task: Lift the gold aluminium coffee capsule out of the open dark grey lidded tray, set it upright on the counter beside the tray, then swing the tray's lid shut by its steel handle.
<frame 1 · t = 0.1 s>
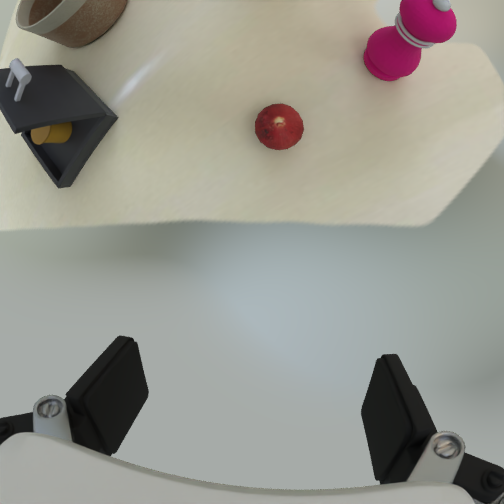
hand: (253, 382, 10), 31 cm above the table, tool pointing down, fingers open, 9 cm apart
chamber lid: (46, 79, 26), point 12 cm above the table, hinge at 75.0°
planter: (94, 13, 33), on the table
coffee pod: (63, 130, 39), point 1 cm above the table, touching dark grey lidded tray
dark grey lidded tray: (69, 126, 39), on the table
pepper mill: (383, 62, 32), on the table
onion: (279, 131, 37), on the table
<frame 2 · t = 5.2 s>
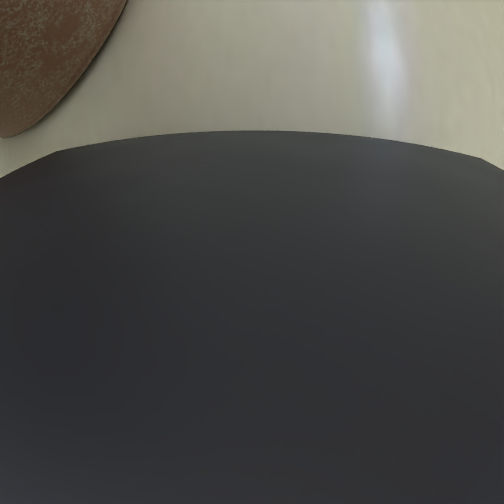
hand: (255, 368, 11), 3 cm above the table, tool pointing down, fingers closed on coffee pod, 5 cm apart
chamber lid: (81, 6, 1), point 12 cm above the table, hinge at 75.0°
planter: (42, 29, 11), on the table
when the fingers open (2 cm above the table, at t = 14.8 s): coffee pod stays where it is, on the table.
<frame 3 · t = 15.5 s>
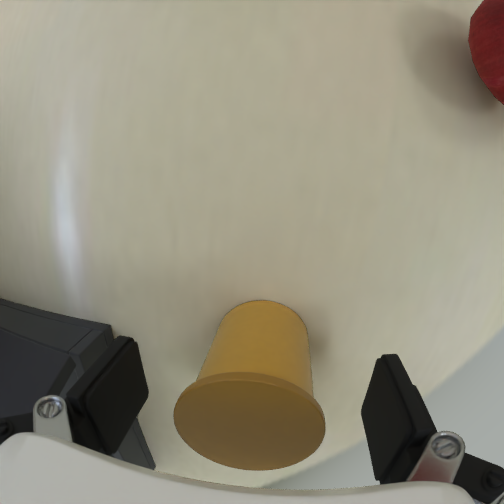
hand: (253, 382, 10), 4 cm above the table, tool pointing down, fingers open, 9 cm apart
coffee pod: (262, 340, 14), on the table
dark grey lidded tray: (55, 386, 18), on the table
onion: (483, 73, 9), on the table
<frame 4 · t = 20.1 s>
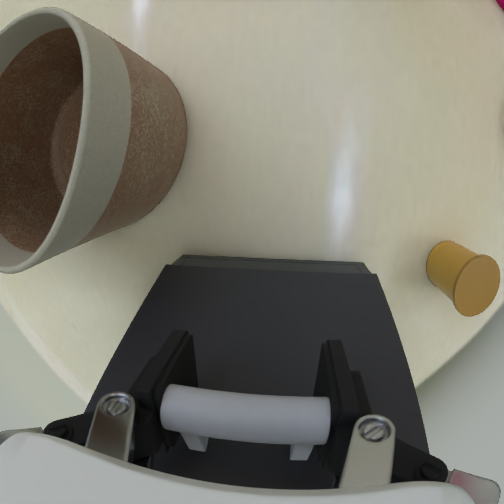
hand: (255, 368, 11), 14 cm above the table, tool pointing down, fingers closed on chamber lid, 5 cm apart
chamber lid: (260, 333, 13), point 12 cm above the table, hinge at 75.0°, touching gripper
planter: (111, 142, 23), on the table
coffee pod: (445, 263, 23), on the table
dark grey lidded tray: (269, 334, 26), on the table
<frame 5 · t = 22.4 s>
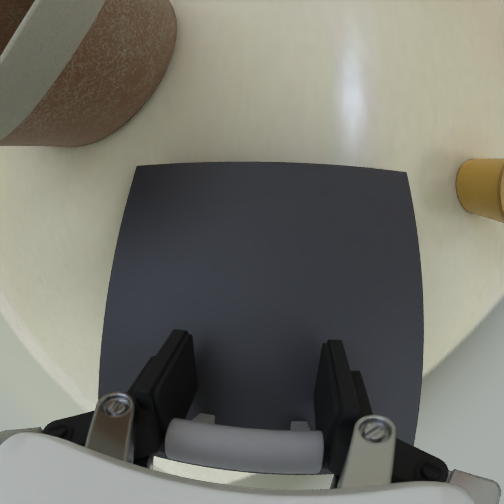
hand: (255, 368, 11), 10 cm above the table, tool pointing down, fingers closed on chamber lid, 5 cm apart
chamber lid: (258, 305, 11), point 10 cm above the table, hinge at 33.2°, touching gripper
planter: (96, 60, 18), on the table
coffee pod: (475, 186, 17), on the table
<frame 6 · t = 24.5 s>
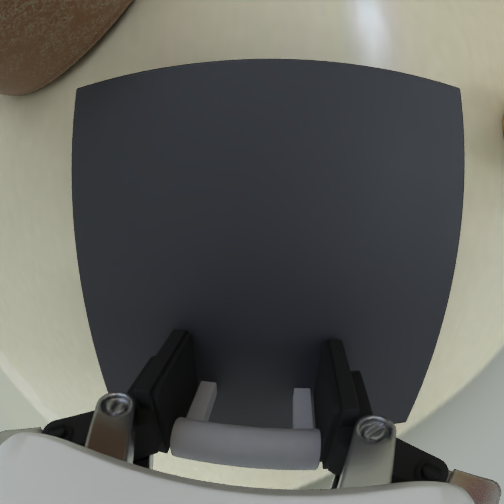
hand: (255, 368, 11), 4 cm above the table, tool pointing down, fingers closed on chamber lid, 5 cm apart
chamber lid: (252, 294, 9), point 6 cm above the table, hinge at -0.2°, touching dark grey lidded tray, gripper
planter: (64, 4, 12), on the table
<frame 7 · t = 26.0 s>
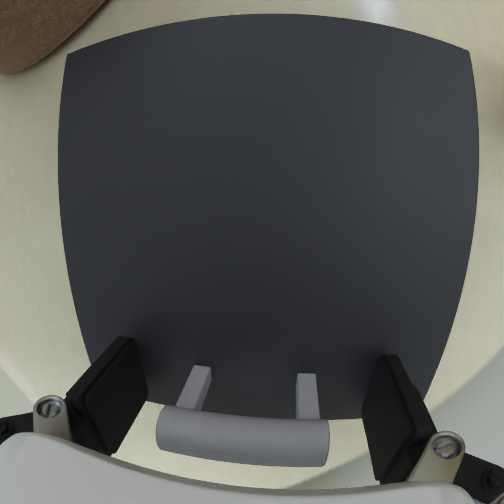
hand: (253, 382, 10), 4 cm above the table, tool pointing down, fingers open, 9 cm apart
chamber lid: (250, 259, 8), point 6 cm above the table, hinge at -0.2°, touching dark grey lidded tray
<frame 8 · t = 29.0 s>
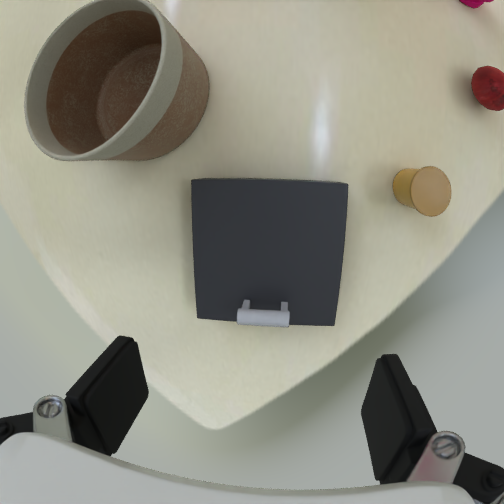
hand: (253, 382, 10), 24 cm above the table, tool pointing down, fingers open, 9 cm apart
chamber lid: (266, 261, 28), point 6 cm above the table, hinge at -0.2°, touching dark grey lidded tray
planter: (149, 98, 31), on the table
coffee pod: (409, 187, 30), on the table
onion: (476, 93, 25), on the table
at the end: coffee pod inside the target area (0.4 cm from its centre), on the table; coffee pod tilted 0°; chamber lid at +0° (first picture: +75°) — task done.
